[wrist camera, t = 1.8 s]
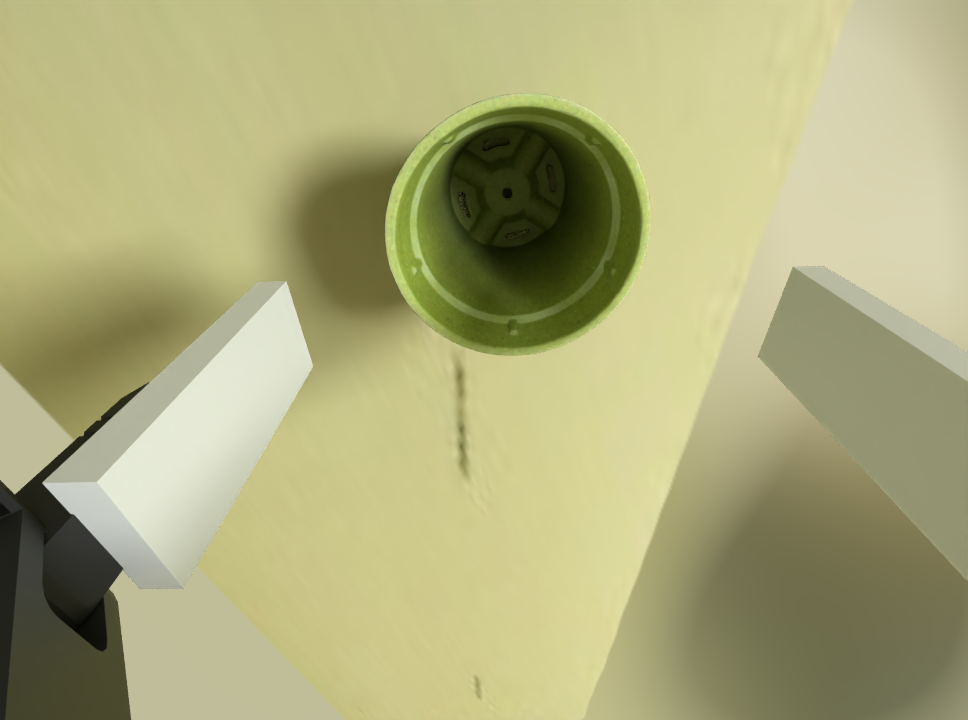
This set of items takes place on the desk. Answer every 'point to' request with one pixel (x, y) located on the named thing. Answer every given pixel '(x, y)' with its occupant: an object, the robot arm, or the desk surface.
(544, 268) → the plant pot
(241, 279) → the desk surface
